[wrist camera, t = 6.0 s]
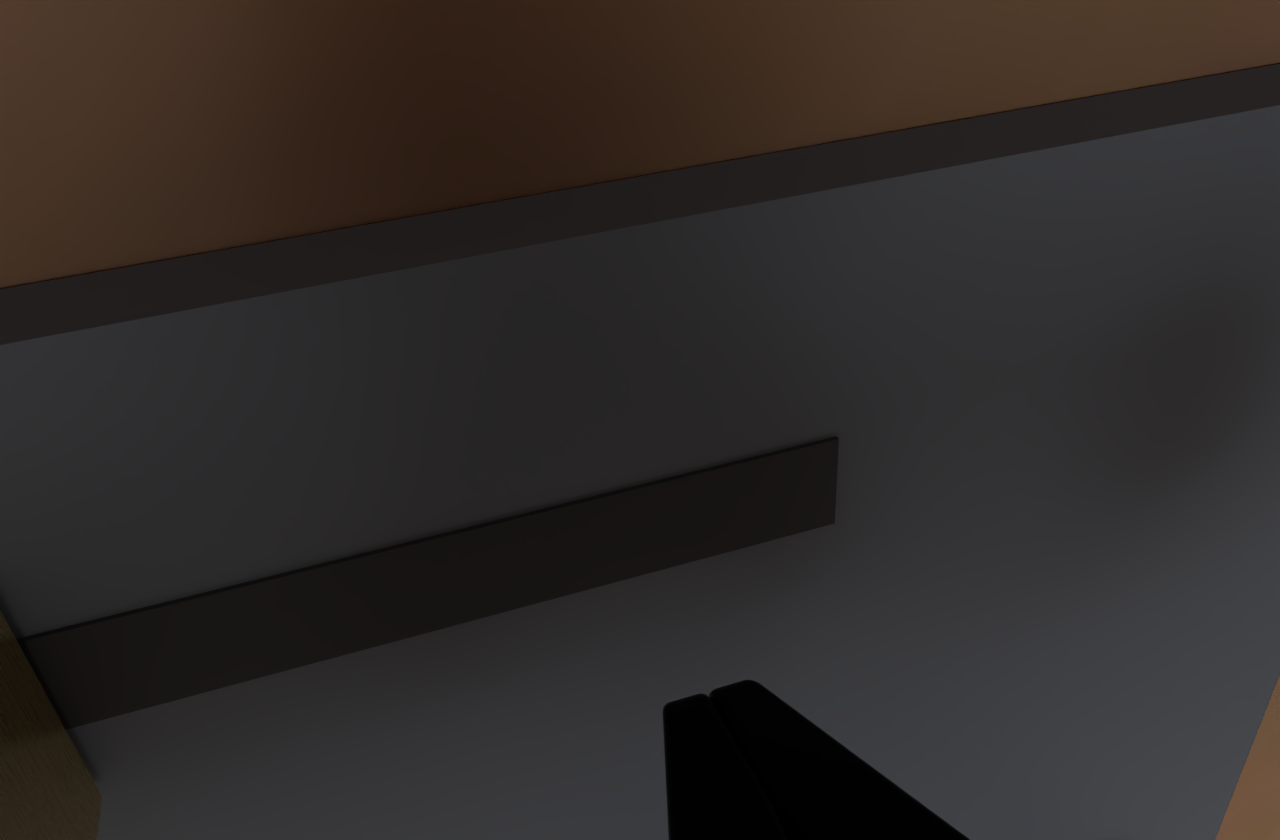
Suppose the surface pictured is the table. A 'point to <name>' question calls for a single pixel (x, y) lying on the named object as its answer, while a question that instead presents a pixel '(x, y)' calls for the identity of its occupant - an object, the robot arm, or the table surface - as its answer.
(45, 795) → the brass slider
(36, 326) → the panel
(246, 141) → the table surface
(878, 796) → the robot arm
